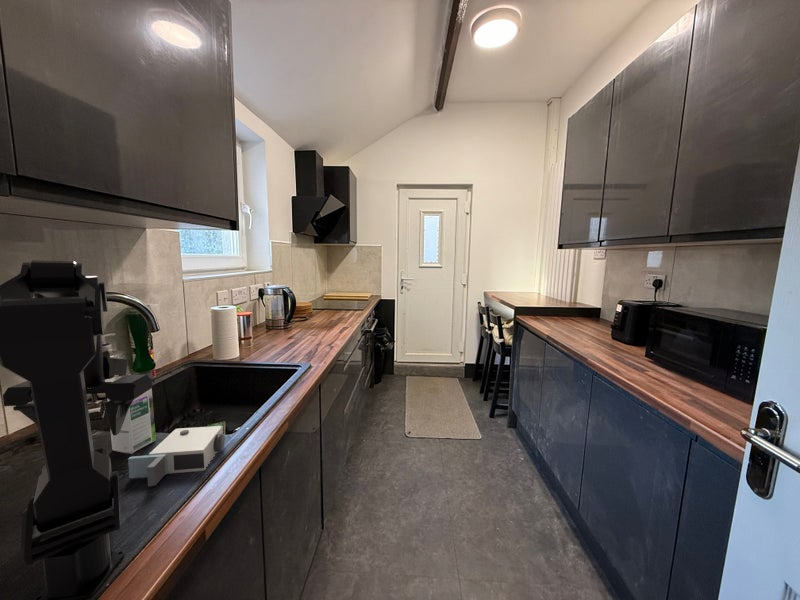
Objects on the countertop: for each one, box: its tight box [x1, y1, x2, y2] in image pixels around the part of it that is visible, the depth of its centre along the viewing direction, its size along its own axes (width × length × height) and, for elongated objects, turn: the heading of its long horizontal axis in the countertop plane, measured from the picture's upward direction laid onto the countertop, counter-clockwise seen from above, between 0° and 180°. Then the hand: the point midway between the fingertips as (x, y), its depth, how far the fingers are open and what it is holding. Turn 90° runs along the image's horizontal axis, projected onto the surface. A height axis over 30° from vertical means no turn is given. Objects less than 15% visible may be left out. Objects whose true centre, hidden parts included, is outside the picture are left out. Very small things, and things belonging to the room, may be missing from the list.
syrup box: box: [106, 387, 157, 455], centre depth 73 cm, size 6×6×14 cm
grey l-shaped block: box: [127, 454, 168, 487], centre depth 61 cm, size 4×6×4 cm, turn 99°
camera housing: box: [148, 425, 226, 475], centre depth 69 cm, size 10×11×5 cm
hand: (86, 436), depth 55 cm, fingers open, 9 cm apart
